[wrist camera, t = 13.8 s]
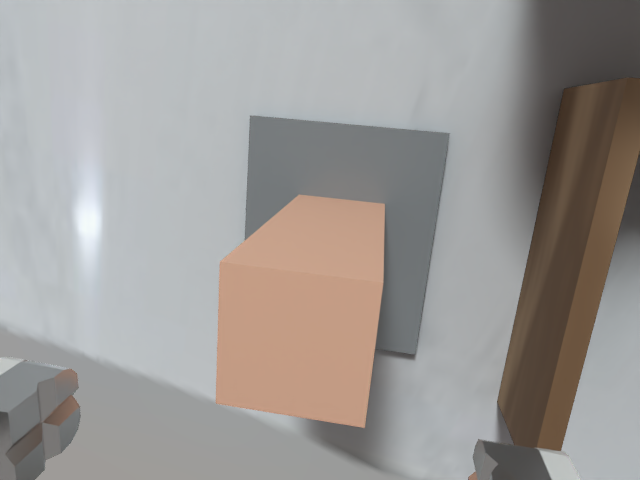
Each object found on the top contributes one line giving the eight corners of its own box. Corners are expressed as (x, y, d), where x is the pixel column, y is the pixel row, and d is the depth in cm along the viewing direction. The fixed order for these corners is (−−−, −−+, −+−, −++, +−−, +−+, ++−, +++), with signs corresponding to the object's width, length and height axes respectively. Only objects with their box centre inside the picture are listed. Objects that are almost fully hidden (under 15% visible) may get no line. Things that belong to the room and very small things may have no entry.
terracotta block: (384, 203, 24) (383, 282, 12) (375, 285, 25) (364, 427, 13) (298, 194, 24) (219, 261, 13) (293, 275, 25) (215, 403, 14)
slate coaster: (447, 133, 23) (449, 133, 22) (414, 349, 26) (415, 354, 26) (253, 115, 24) (250, 115, 24) (244, 325, 27) (240, 329, 27)
